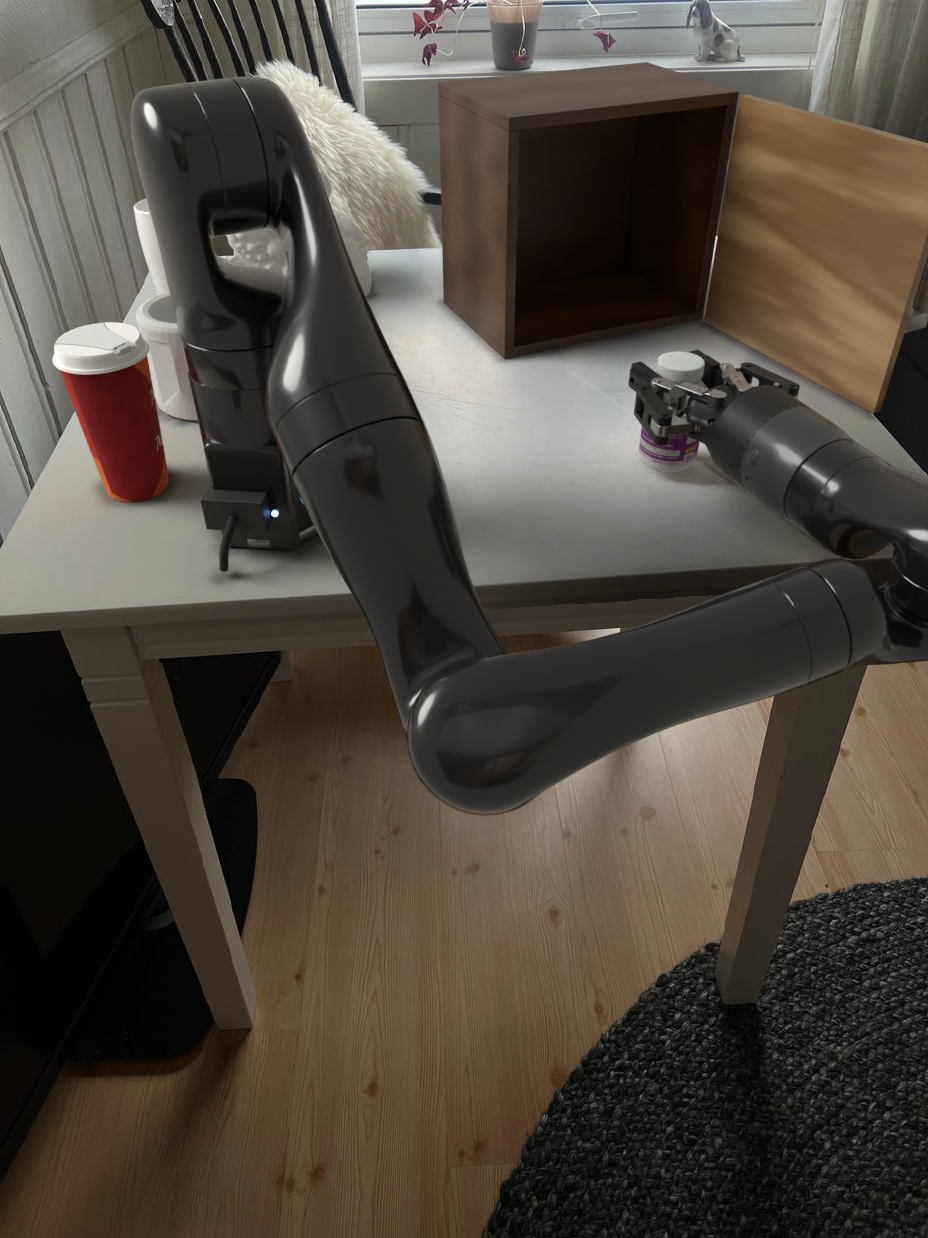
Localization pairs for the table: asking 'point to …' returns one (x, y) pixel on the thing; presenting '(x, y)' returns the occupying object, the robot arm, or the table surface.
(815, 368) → the cabinet door
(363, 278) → the cauliflower
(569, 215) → the cabinet
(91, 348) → the paper cup
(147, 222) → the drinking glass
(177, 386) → the mug
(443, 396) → the table surface
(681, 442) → the pill bottle
